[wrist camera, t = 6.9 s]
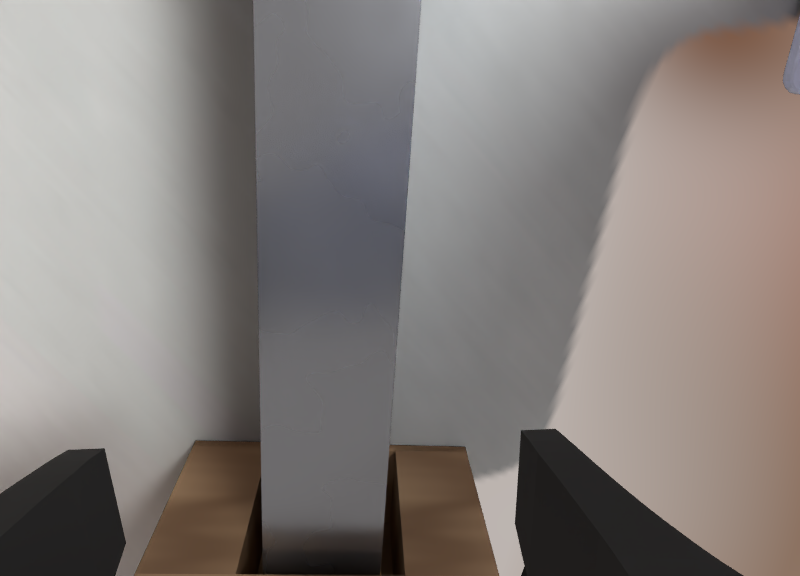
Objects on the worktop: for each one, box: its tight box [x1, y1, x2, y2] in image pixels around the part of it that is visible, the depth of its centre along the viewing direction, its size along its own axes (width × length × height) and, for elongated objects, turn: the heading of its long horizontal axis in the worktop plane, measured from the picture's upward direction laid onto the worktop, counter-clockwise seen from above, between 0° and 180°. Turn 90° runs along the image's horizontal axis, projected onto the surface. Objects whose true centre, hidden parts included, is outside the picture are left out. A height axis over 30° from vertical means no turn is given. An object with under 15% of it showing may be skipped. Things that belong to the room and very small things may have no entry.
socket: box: [134, 441, 499, 576], centre depth 18 cm, size 9×4×6 cm, turn 86°
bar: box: [253, 0, 421, 575], centre depth 15 cm, size 3×18×5 cm, turn 176°
